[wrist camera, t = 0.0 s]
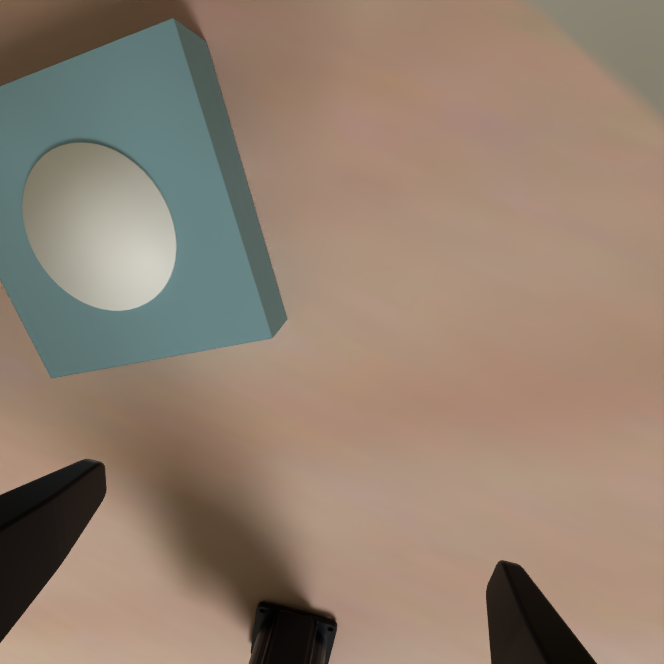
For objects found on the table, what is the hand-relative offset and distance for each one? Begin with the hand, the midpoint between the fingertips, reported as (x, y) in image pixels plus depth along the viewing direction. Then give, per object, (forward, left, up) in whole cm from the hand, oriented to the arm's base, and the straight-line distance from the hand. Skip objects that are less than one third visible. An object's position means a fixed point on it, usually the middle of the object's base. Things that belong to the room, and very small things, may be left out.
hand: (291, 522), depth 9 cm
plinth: (+3, +13, -15) cm, 20 cm away
